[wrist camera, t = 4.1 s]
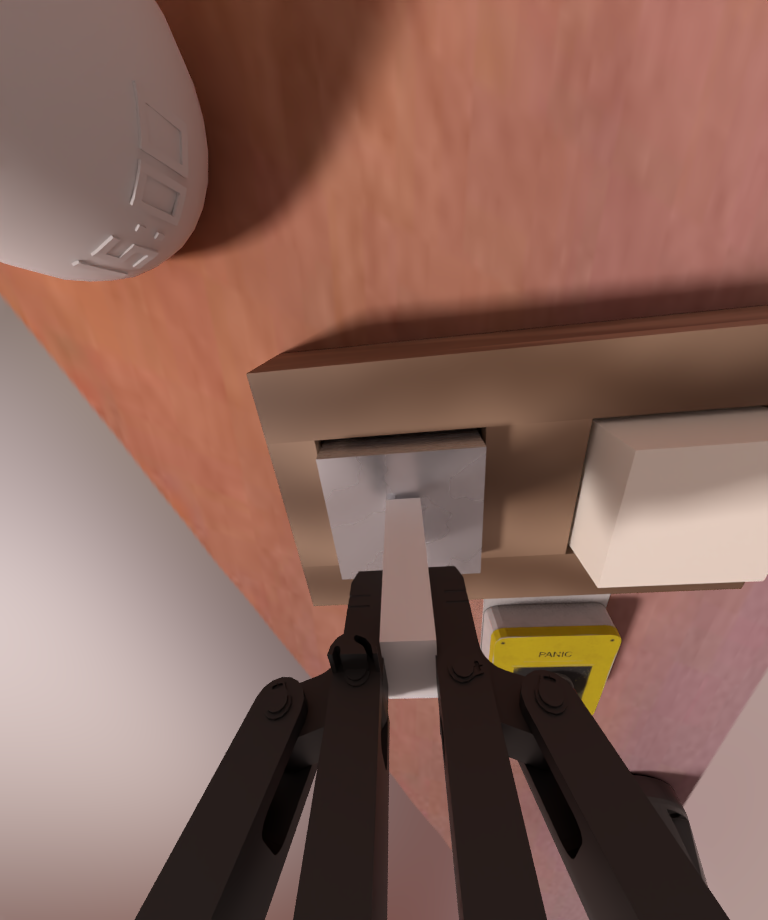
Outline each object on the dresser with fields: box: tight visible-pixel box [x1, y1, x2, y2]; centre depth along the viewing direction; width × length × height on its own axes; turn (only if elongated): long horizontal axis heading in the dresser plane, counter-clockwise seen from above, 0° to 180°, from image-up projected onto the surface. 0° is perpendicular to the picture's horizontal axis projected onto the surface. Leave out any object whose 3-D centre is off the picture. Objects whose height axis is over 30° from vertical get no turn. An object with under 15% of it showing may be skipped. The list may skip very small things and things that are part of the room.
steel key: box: [316, 428, 486, 580], centre depth 17 cm, size 7×7×3 cm
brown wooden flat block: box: [247, 305, 768, 606], centre depth 18 cm, size 14×24×4 cm, turn 96°
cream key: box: [568, 405, 768, 588], centre depth 15 cm, size 7×7×3 cm
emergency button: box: [480, 594, 621, 715], centre depth 27 cm, size 9×4×15 cm
